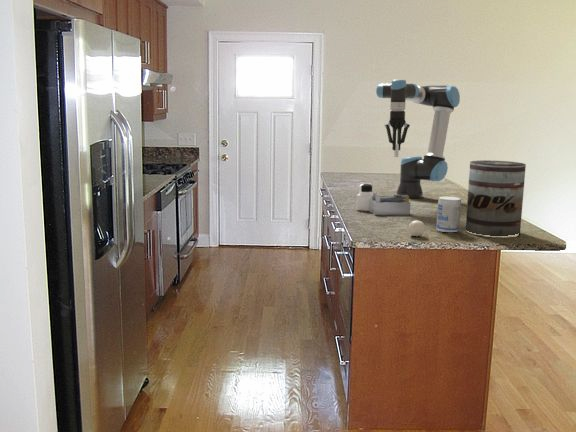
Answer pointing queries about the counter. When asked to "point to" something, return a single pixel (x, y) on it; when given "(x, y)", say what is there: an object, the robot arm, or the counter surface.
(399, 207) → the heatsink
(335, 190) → the counter surface
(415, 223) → the baseball
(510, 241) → the counter surface
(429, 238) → the counter surface
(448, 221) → the supplement tub
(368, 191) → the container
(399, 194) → the lid
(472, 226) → the barrel
